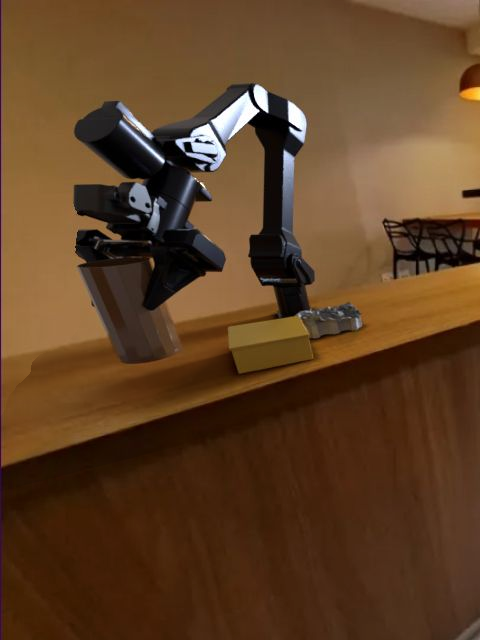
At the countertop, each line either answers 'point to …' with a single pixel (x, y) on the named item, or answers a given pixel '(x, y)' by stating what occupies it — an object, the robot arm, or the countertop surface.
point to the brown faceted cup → (130, 309)
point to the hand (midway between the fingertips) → (122, 308)
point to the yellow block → (269, 344)
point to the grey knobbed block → (331, 320)
